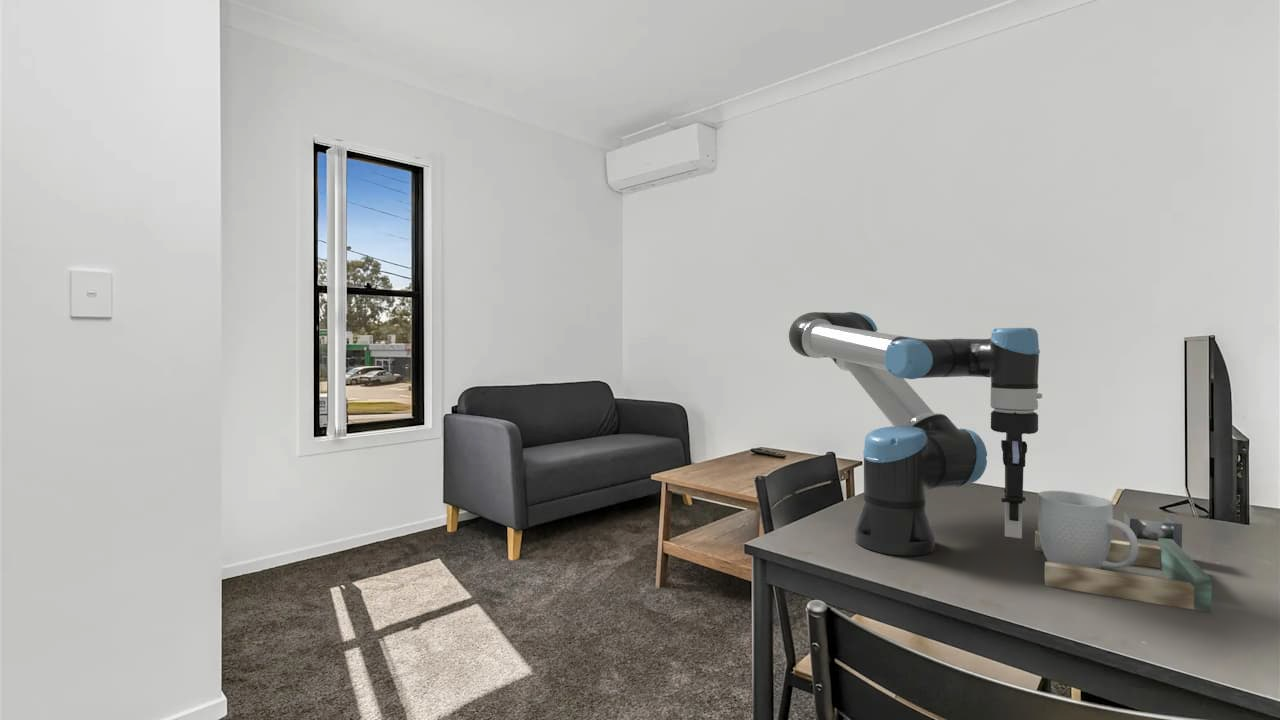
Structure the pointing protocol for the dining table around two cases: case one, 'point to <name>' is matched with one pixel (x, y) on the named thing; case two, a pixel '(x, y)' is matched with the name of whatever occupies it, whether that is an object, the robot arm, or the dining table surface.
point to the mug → (1079, 529)
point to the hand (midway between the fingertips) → (1013, 536)
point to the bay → (1139, 576)
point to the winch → (1154, 529)
